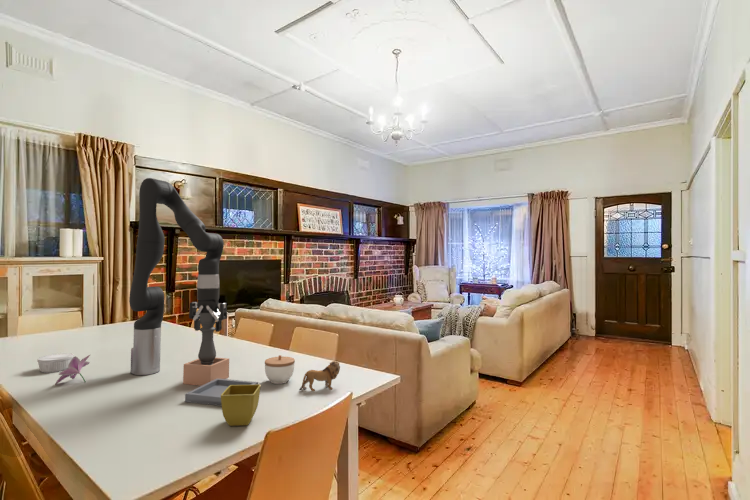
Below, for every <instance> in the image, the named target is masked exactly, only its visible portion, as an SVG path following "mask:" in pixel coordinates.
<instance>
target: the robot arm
mask: <svg viewBox="0 0 750 500" xmlns="http://www.w3.org/2000/svg"><path fill="white" fill-rule="evenodd" d="M138 193H139V196H138V199H139V202H138V203H139V205H138V206H139V218H138V219H139V220H138V230H137V231H138V233H137V241H136V249H135V250H136V252H135V263H134V271H133V276H132V281H131V285H130V292H129V297H128V298H129V300H128V301H129V307H130V309H131V310H132V311H133V312H145V314H143V316H142V317H140V318H139V319H136V320H135V321H134V322H133V343H132V344H133V347H131V349H130V370H129V371H130V374H133V376H134V375H135V376H145V375H152V374H156V373H159V372H160V371H161V349H162V348H161V347H162V344H161V341H162V338H161V337H162V322H163V320H164V311H165V293H164V291H163V289H162V288H161V287H159V286H148V282H149V278H150V276H151V274H152V272H153V271H154V269H155V267H156V266H157V265H158V264H159V262H160V261H161V260H162V257H163V255H164V252H165V242H166V241H165V240H166V238H165V234H164V231H163V229H162V227H161V224H160V223H159V220H158V217H157V205H164V206H166V207H167V208H169V209H170V210H171V211H172V213H173V214H174V215H173V216H174V220H175V222H176V224H177V226H178V227H180V228H181V229H182V231H184V233H186V235H187V236H188V239H189V240H190V242H191V243H192V245H193V247H194V248H195V249H196V250H198V251H200V252H204V253H205V252H206V253H205V257H203V258H201V259H200V260H198V268H197V269H198V272H197V273H198V274H197V283H196V285H197V289H196V300H197V301H192V302H191V301H190V303H189V311H188V312H189V313H188V319H191V320H193V329H194V331H195V332H196V331H197V332H198V331H200V329H201V326H202V325H201V322H200V312H205V313H211V315H212V316H213V317H214V318H215V320H216V321H215V324H214V326H215V331H214V332H215V333H218V332H221V330H222V326H223V321H225V320H227V319H228V308H227V306H228V303H227V302H223V303H222V302H219V299H220V261H221V259H222V253H223V251H224V239H223V237H222V236H221V235H220V234H219V233H216V232H215V233H214V232H206V225H205V224H204V222H203V221H202V220H201V219H200V218H199V217H198V216H197V215H196V214H195V213H194V212H193V211H192V210H191V208H190V207H189V206H188V205H187V204H186V203H185V201H184V200H183V199H182V197H181V196H180V194H179V193H178V191H177V190H176V188H175V187H174V186H173V184H172V183H170V182H168V181H166V180H162V179H156V178H151V177H147V178H145V179H143V180H142V181H141V184H140V187H139V192H138ZM215 312H216V313H215Z"/></svg>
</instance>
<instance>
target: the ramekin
mask: <svg viewBox="0 0 750 500" xmlns="http://www.w3.org/2000/svg"><path fill="white" fill-rule="evenodd" d="M73 357H75V354H74V353H73V352H72V353H71V352H60V353H58V352H57V353H51V354H45V355H42V356H40V357H38V358H37V362H38V368H39V371H40V372H41V373H58V372H59V373H60V372H62V371H64V370H65V369H67V368H68V365H69V363H70V361H71V360H72V358H73Z"/></svg>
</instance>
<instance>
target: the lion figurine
mask: <svg viewBox="0 0 750 500" xmlns="http://www.w3.org/2000/svg"><path fill="white" fill-rule="evenodd" d="M340 368H341V366H340V362H339V361H336V360H332V361H331V362H329V364H328V365H327V366H326V367H325V368H324V369H322V370H318V369H317V370H314V369H310V370H308V371H306V372H305V374H304V375H303V379H302V383H301V386H300V388H299V389H298V391H302V390H306V389H307V386H306V384H308V383H309V385H308V387H309V390H311V392H316V389H315V388H313V384H314V382H315V381H317V382H324V383H325V384H324V386H325V388H328V390H333V387H332V381H333V380H336V378H337V377H338V375H339V373H340V370H341V369H340Z"/></svg>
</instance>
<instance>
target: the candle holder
mask: <svg viewBox="0 0 750 500" xmlns="http://www.w3.org/2000/svg"><path fill="white" fill-rule="evenodd" d="M215 313H216V312H215ZM199 320H200V322H201V325H200V326H201V327H200V330H199V331H200V332H201V343H200V347H199V351H198V354H197V359H199V360H200V361H201V365H212V364H213V362H214V361H213V360H214V359H215V357H216V358H217V350H216V346H215V341H214V332H216V331H215V327H214V326H215V322H217V321H216V320H215V318H214V317H213V316H212V315H211V313H205V312H200V319H199Z"/></svg>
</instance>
